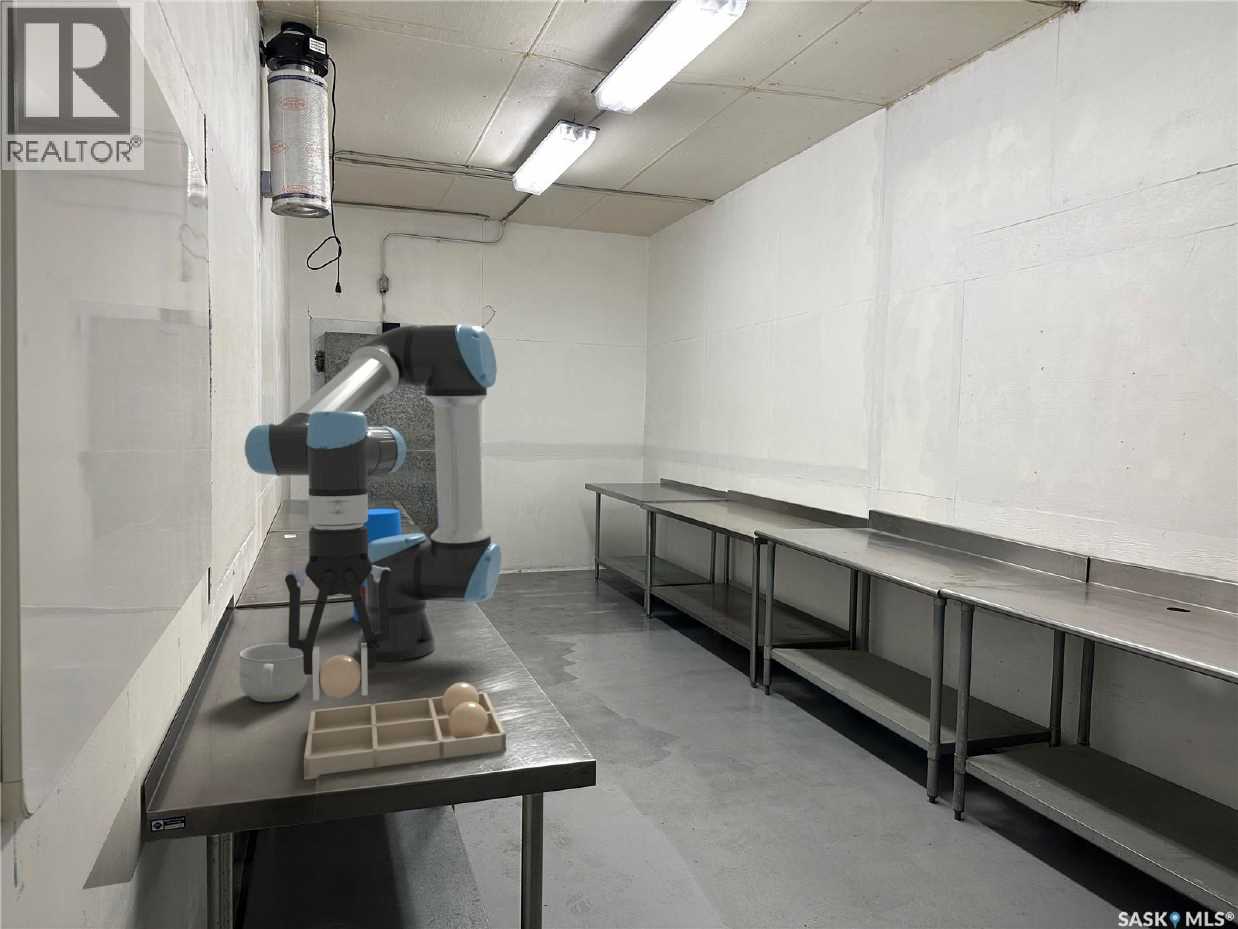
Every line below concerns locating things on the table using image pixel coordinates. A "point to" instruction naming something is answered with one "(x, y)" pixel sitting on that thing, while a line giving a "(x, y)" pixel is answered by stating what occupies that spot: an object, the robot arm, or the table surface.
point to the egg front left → (468, 720)
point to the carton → (391, 735)
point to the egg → (340, 676)
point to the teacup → (271, 672)
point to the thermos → (380, 533)
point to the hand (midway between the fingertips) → (340, 694)
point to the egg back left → (459, 696)
